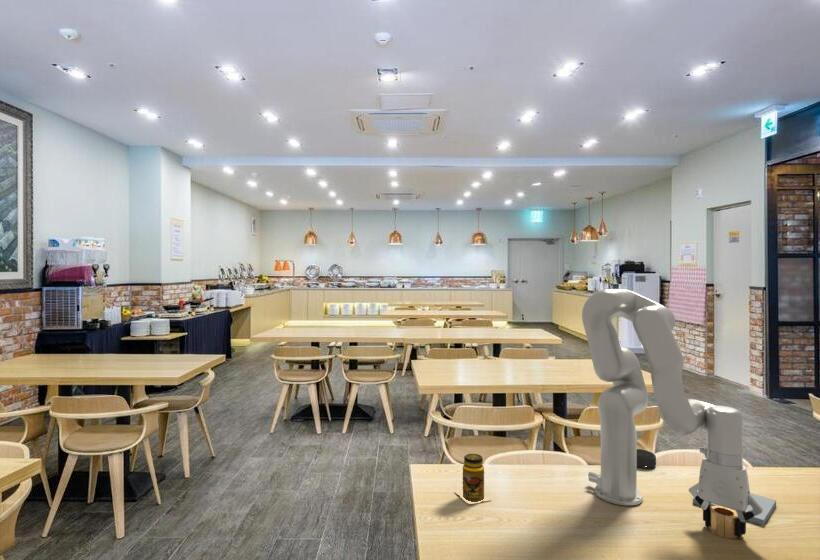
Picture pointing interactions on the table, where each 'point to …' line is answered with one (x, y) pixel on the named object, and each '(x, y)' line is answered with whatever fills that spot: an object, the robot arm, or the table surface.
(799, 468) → the table surface
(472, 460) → the condiment
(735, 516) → the ring
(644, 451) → the smart speaker
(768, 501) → the peg stand
